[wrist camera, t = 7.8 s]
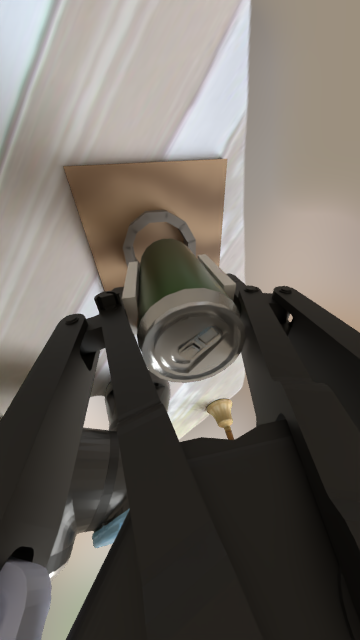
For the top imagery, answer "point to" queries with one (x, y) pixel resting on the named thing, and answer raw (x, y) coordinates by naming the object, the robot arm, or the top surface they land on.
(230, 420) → the hand bell
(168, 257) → the beer can
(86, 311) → the top surface
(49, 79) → the top surface
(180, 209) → the collar holder
